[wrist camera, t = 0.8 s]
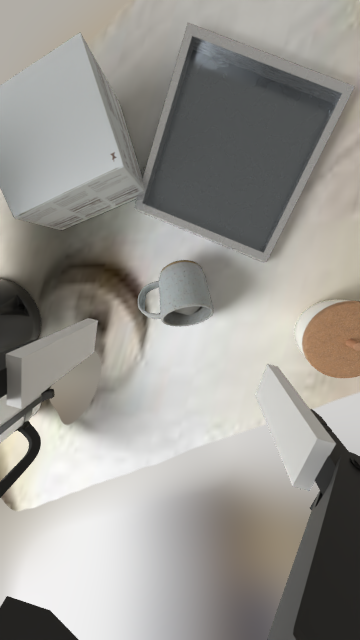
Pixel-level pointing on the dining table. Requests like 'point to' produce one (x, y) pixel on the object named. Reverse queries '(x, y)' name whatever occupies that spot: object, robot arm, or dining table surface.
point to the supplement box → (64, 141)
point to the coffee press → (9, 419)
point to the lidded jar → (331, 337)
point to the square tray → (237, 142)
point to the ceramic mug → (180, 295)
